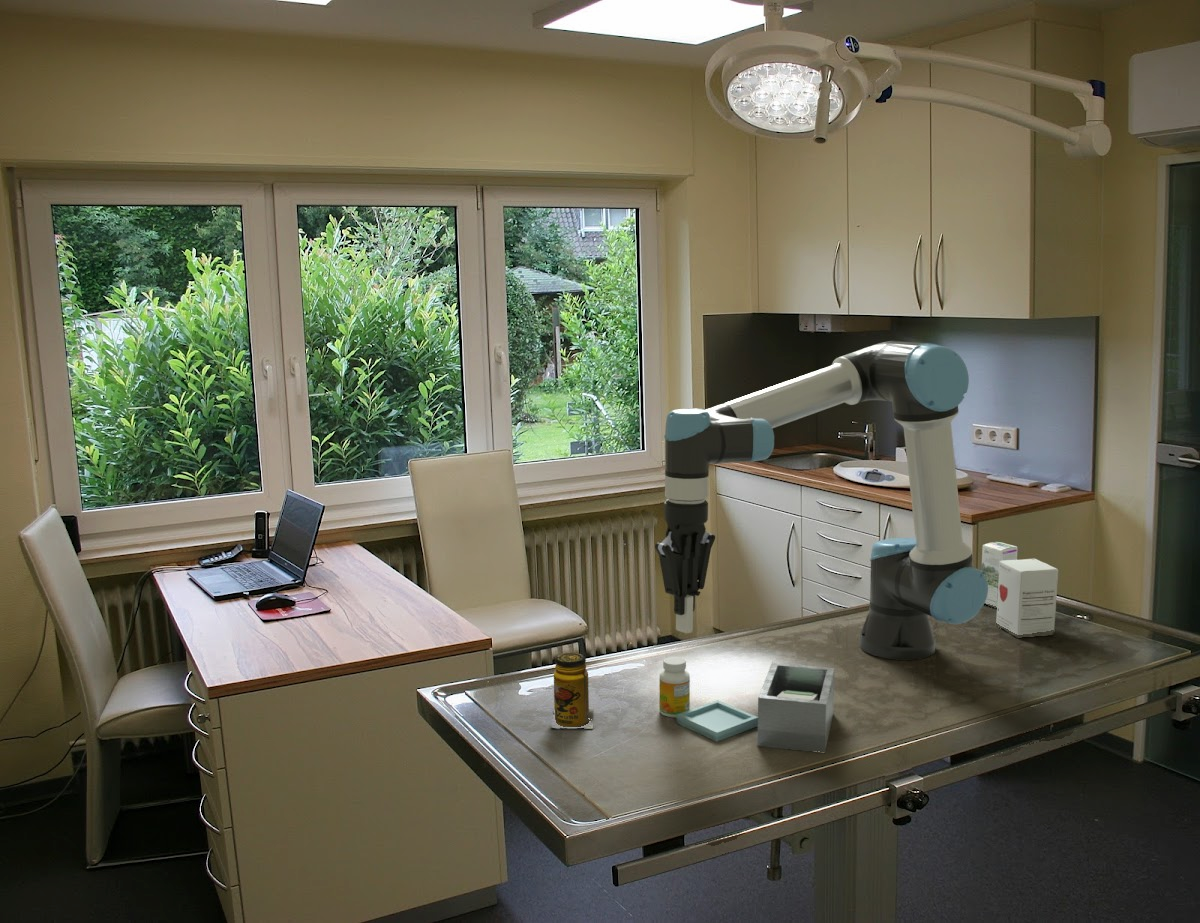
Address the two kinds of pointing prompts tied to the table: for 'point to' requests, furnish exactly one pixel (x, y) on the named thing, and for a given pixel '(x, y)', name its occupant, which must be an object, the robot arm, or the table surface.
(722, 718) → the tray
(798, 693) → the block
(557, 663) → the condiment
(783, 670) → the guard box
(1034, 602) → the supplement box
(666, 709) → the supplement bottle
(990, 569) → the syrup box
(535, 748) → the table surface
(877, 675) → the table surface
